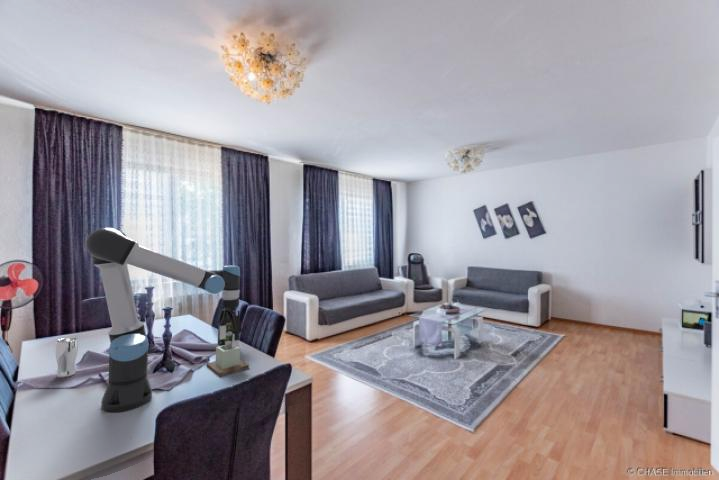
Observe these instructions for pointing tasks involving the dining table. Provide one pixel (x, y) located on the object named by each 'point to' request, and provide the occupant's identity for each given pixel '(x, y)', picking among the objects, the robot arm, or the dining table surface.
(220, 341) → the coffee jar
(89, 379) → the dining table surface
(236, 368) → the post board
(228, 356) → the collar
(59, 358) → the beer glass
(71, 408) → the dining table surface
